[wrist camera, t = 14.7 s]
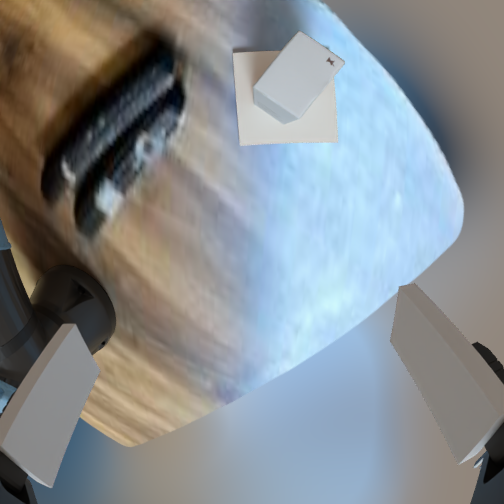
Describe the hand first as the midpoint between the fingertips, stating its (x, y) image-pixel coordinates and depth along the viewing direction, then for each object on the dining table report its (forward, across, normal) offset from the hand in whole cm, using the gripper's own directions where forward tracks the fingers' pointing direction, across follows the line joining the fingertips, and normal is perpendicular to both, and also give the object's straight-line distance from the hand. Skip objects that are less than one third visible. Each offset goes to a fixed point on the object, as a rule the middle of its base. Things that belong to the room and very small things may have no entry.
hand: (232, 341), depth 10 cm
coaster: (+24, +7, +11) cm, 28 cm away
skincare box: (+24, +6, +11) cm, 27 cm away
